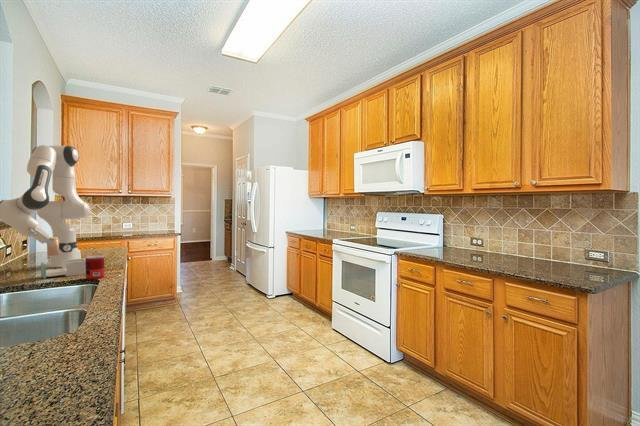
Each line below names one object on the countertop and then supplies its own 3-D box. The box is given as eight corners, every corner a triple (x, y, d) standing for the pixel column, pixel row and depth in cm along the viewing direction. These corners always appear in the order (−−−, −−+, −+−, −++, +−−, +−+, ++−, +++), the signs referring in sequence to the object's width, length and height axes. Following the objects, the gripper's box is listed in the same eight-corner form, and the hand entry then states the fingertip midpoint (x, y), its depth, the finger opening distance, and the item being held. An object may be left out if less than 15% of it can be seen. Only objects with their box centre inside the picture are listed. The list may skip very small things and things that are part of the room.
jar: (46, 254, 170) (46, 237, 170) (58, 253, 174) (57, 236, 173) (48, 256, 167) (47, 238, 167) (60, 254, 170) (59, 237, 170)
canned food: (108, 276, 172) (107, 255, 171) (96, 279, 164) (95, 257, 163) (94, 275, 172) (94, 254, 172) (82, 279, 164) (81, 257, 164)
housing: (62, 273, 178) (61, 260, 177) (84, 270, 185) (84, 258, 185) (66, 276, 170) (66, 263, 170) (89, 273, 178) (89, 260, 177)
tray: (41, 275, 170) (40, 262, 170) (64, 272, 178) (64, 259, 178) (44, 278, 164) (43, 264, 164) (68, 275, 172) (68, 262, 171)
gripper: (34, 223, 157) (60, 242, 164) (35, 221, 173) (59, 239, 180) (21, 233, 155) (49, 252, 161) (24, 230, 170) (49, 247, 177)
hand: (54, 245), depth 171 cm, fingers closed on jar, 5 cm apart
